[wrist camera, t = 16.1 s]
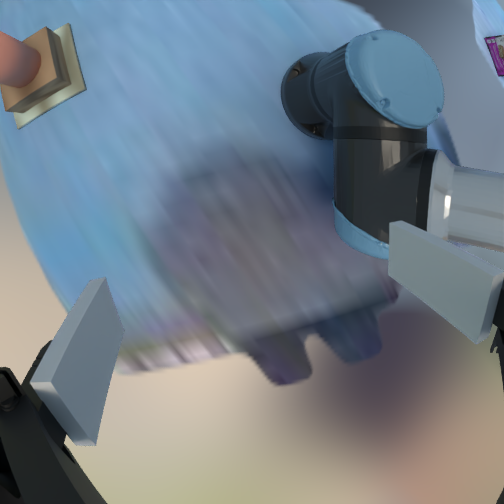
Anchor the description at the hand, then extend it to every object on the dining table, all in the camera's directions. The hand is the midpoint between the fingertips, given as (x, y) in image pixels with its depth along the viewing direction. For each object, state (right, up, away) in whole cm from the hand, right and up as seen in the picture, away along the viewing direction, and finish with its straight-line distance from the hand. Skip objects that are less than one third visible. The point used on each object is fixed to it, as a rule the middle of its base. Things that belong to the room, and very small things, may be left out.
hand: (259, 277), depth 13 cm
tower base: (-35, +30, +22) cm, 51 cm away
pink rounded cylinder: (-34, +28, +16) cm, 47 cm away
